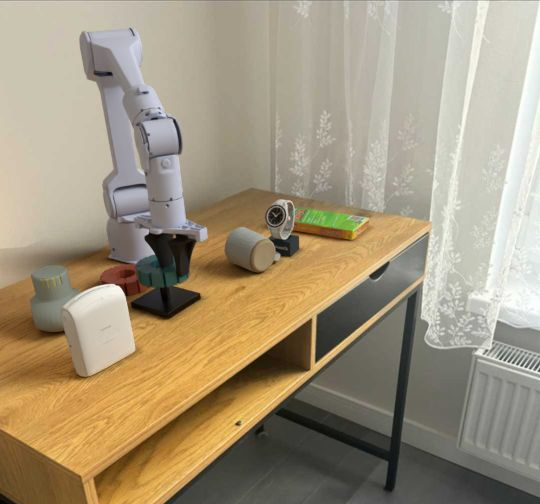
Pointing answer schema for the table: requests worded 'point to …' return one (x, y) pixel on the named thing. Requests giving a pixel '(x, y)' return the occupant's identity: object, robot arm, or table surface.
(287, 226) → the watch
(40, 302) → the air freshener
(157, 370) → the table surface
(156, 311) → the peg stand
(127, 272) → the brick ring
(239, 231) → the ceramic mug
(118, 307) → the photo printer
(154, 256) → the teal ring
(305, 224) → the game box
